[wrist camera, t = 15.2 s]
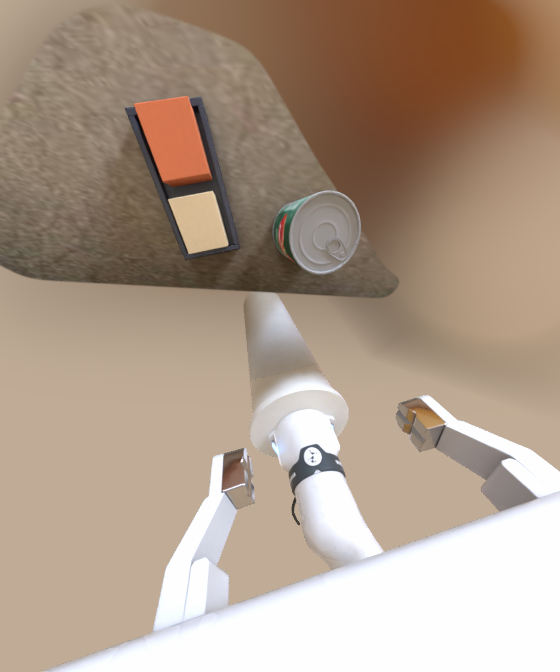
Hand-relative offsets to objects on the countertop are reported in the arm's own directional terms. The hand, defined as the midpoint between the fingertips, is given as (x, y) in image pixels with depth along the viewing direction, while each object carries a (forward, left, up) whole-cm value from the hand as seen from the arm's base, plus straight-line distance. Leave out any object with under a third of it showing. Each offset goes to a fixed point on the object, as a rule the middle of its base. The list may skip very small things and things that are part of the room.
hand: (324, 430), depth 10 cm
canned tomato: (+7, -7, -27) cm, 29 cm away
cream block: (+10, +6, -27) cm, 29 cm away
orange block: (+18, +6, -27) cm, 32 cm away
